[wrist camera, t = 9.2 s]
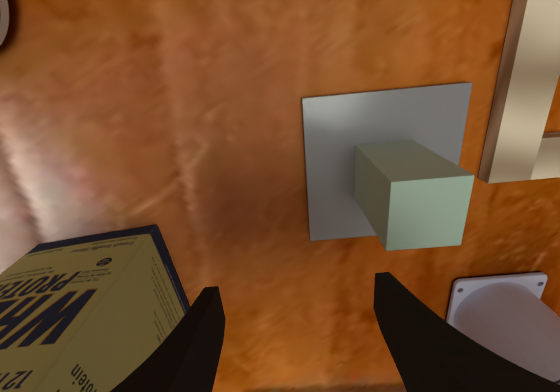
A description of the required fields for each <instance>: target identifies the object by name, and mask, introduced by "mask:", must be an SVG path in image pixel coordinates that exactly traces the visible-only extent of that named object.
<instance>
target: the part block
mask: <svg viewBox="0 0 560 392" xmlns="http://www.w3.org/2000/svg"><path fill="white" fill-rule="evenodd" d="M474 176H475V175H473V174H472V173H470V172H468V171H466V170H465V169H463V168H461V167H459V166H458V165H456V164H454V163H452V162H451V161H449V160H447V159H445V158H444V157H442V156H440V155H438V154H437V153H435V152H433V151H431V150H430V149H428V148H426V147H424V146H423V145H421V144H419V143H417V142H416V141H414V140H408V141H396V142H385V143H373V144H361V145H355V187H354V197H355V199H356V201H357V202H358V204H359V206H360V208H361V209H362V211H363V213H364V214H365V216H366V218H367V219H368V221H369V223H370V224H371V226H372V228H373V230H374V231H375V233H376V235H377V236H378V238H379V240H380V241H381V243H382V245H383V247H384V248H385V250H386V251H390V250H403V249H416V248H428V247H441V246H454V245H461V241H462V236H463V231H464V226H465V221H466V216H467V211H468V206H469V201H470V196H471V191H472V186H473V181H474Z"/></svg>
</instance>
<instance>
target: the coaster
mask: <svg viewBox="0 0 560 392" xmlns="http://www.w3.org/2000/svg"><path fill="white" fill-rule="evenodd" d="M471 88H472V82H460V83H449V84H439V85H428V86H418V87H407V88H397V89H386V90H376V91H365V92H355V93H344V94H334V95H324V96H313V97H303V98H302V114H303V132H304V149H305V167H306V184H307V202H308V220H309V237H310V241H316V240H328V239H339V238H351V237H363V236H375V235H376V233H375V231H374V230H373V228H372V226H371V224H370V223H369V221H368V219H367V218H366V216H365V214H364V213H363V211H362V209H361V208H360V206H359V204H358V202H357V201H356V199H355V197H354V187H355V145H361V144H373V143H385V142H396V141H408V140H414V141H416V142H417V143H419V144H421V145H423V146H424V147H426V148H428V149H430V150H431V151H433V152H435V153H437V154H438V155H440V156H442V157H444V158H445V159H447V160H449V161H451V162H452V163H454V164H456V165H458V166H459V160H460V154H461V148H462V142H463V136H464V130H465V124H466V118H467V112H468V106H469V100H470V94H471Z"/></svg>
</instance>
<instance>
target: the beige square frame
mask: <svg viewBox="0 0 560 392" xmlns="http://www.w3.org/2000/svg"><path fill="white" fill-rule="evenodd" d="M559 74H560V0H513V2H512V8H511V13H510V18H509V23H508V28H507V33H506V38H505V43H504V48H503V53H502V58H501V63H500V68H499V73H498V78H497V84H496V89H495V94H494V99H493V104H492V109H491V114H490V119H489V124H488V129H487V134H486V139H485V144H484V149H483V154H482V159H481V165H480V170H479V175H478V178H480V179H481V180H483V181H485V182H487V183H498V182H510V181H521V180H532V179H544V178H555V177H560V132H551V133H543V132H544V128H545V125H546V121H547V118H548V114H549V110H550V107H551V103H552V99H553V96H554V92H555V89H556V85H557V81H558V78H559Z"/></svg>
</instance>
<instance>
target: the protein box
mask: <svg viewBox="0 0 560 392" xmlns="http://www.w3.org/2000/svg"><path fill="white" fill-rule="evenodd" d="M189 309H190V306H189V304H188V301H187V299H186V296H185V293H184V291H183V288H182V286H181V283H180V281H179V278H178V276H177V274H176V271H175V269H174V266H173V264H172V261H171V258H170V256H169V253H168V251H167V248H166V246H165V243H164V241H163V238H162V236H161V233H160V231H159V228H158V226H157V225H152V226H146V227H140V228H134V229H128V230H122V231H116V232H109V233H104V234H98V235H92V236H85V237H80V238H74V239H68V240H63V241H57V242H51V243H45V244H39V245H37V246H36V247H35V248H34V249H32V250H31V251H30V252H28V253H27V254H26V255H24V256H23V257H22V258H21V259H19V260H18V261H17V262H16V263H14V264H13V265H12V266H10V267H9V268H8V269H7V270H5V271H4V272H3V273H2V274H0V392H110V391H111V390H112V389H113V388H115V387H116V386H117V385H118V384H119V383H121V382H122V381H123V380H124V379H125V378H126V377H128V376H129V375H130V374H131V373H132V372H133V371H134V370H135V369H136V368H138V367H139V366H140V365H141V364H142V363H143V362H144V361H145V360H146V359H147V358H148V357H149V356H150V355H151V354H152V353H153V352H154V351H155V350H156V349H157V348H158V347H159V345H160V344H161V343H162V342H163V341H164V340H165V339H166V337H167V336H168V335H169V334H170V333H171V332H172V330H173V329H174V328H175V327H176V326H177V324H178V323H179V322H180V320H181V319H182V318H183V316H184V315H185V314H186V313H187V311H188V310H189Z"/></svg>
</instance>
